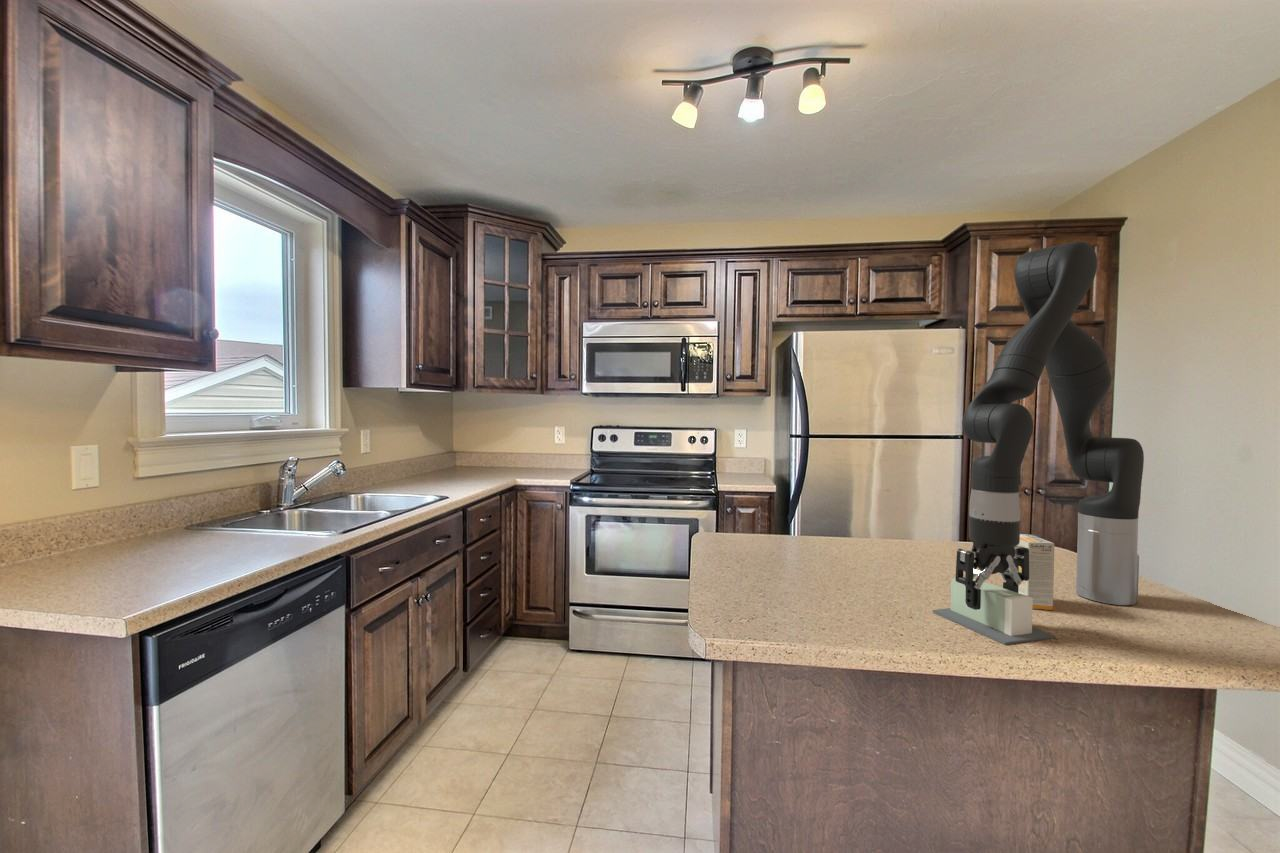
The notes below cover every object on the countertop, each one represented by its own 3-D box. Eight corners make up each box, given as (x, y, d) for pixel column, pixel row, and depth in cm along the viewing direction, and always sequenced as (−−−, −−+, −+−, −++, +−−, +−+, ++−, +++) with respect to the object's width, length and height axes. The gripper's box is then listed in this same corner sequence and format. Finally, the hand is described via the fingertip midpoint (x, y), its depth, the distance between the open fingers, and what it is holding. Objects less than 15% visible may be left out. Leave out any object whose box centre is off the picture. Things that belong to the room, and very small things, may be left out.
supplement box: (1054, 611, 100) (1056, 543, 99) (1026, 608, 101) (1028, 541, 100) (1031, 596, 108) (1033, 533, 107) (1005, 594, 109) (1007, 532, 108)
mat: (978, 606, 101) (978, 604, 101) (1055, 637, 87) (1055, 635, 87) (932, 612, 98) (932, 610, 98) (1004, 644, 84) (1004, 642, 84)
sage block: (970, 576, 100) (1032, 597, 88) (969, 608, 100) (1031, 633, 88) (950, 578, 98) (1011, 599, 87) (950, 610, 98) (1011, 636, 87)
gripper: (981, 521, 87) (979, 618, 87) (1045, 518, 90) (1043, 610, 91) (944, 513, 94) (942, 602, 94) (1005, 510, 98) (1003, 595, 98)
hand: (991, 606), depth 92 cm, fingers open, 8 cm apart
